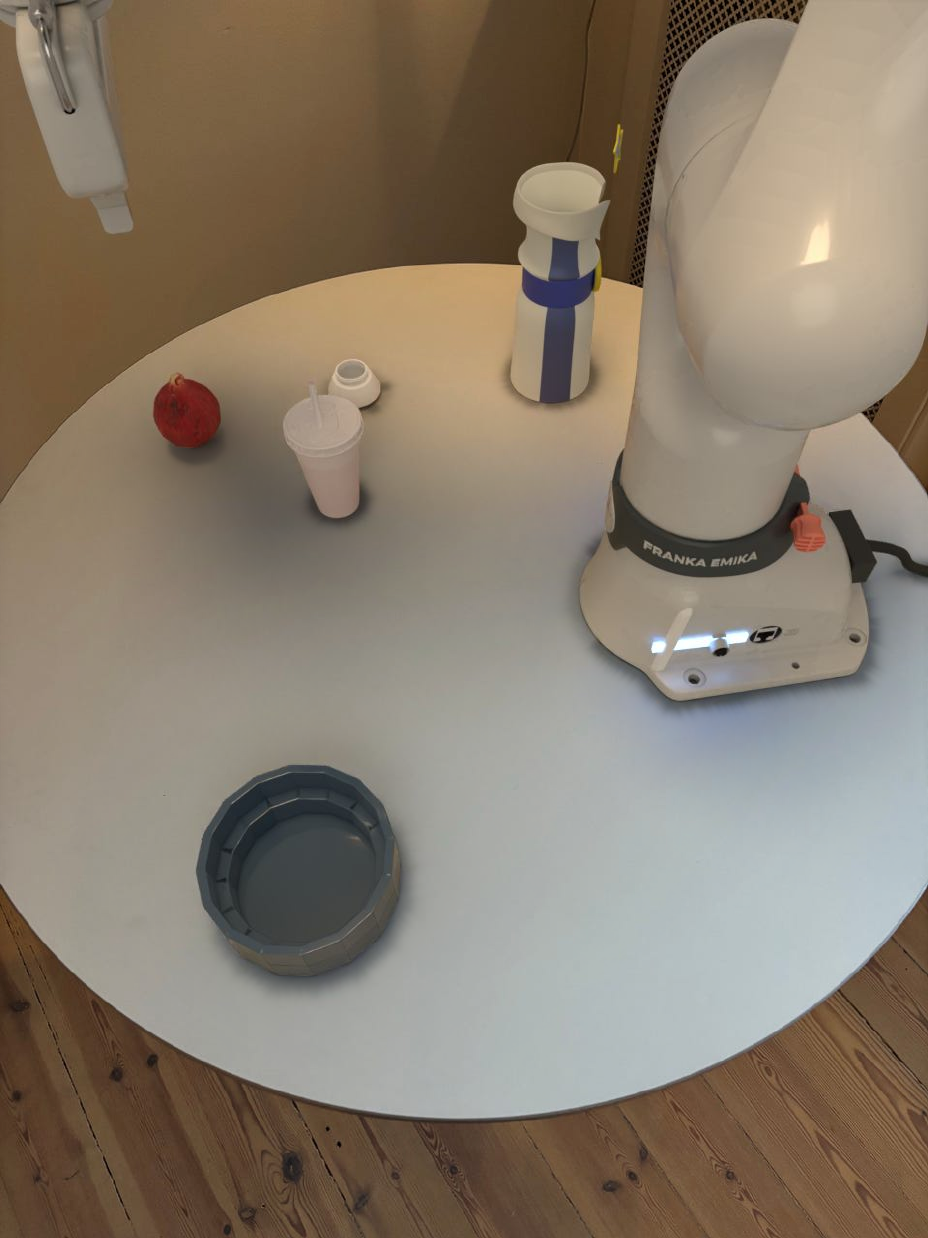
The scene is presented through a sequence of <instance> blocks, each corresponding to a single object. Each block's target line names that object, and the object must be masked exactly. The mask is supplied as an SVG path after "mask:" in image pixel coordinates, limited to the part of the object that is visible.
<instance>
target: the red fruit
mask: <svg viewBox="0 0 928 1238" xmlns="http://www.w3.org/2000/svg"><path fill="white" fill-rule="evenodd" d="M220 406H221V405H220V402H219V400H218V398H217V397H216V395H215V394H214V393H213V392H212V391H211V390H210V389H209V388H208V386H206V385H205V384H203V383H201V382H198V381H197V380H194V379H191V378H185V376H184V375H183V374H182V373H179V372H175V373H173V374H171V375H170V377H169V380H168V381H167V383H164V385H163V386H162V387H161V388H160V389H159V391H158V392H157V393H156V395H155V397H154V399H153V408H152V409H153V410H152V418H153V422H154V424H155V425H156V427H157V429H158V431H159V433H160V434H161V436H162V437H163V438H164V439H166V440H167V441H168V442H170V443H171V444H173V445H174V446H175V447H180V448H187V449H193V448H198V447H199V448H200V447H201V446H203V445H204V444H207V442H209V441H210V440H211V439H212V438H214V436H215V435H216V433H217V431H218V430H219V428H220V424H221V422H222V417H221V416H222V414H221V407H220Z"/></svg>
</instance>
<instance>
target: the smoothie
mask: <svg viewBox="0 0 928 1238" xmlns="http://www.w3.org/2000/svg"><path fill="white" fill-rule="evenodd" d="M307 387H308V391H309V397H306V398H304V399H302V400H300V401H298V402H296V403H295V404H294V405H292V406H291V407H290V408H289V409H288V411H287V412H286V414H285V416H284V418H283V422H282V428H283V433H284V434H283V435H284V439H285V441H286V444H287V445H288V446H289V448H291V450H293V451H294V455H295V457H296V459H297V461H298V464H299V466H300V468H301V471H302V474H303V475H304V477H305V480H306V482H307V484H308V485H307V486H308V488H309V489H310V492H311V494H312V496H313V500H314V501H315V504H316V507H317V508H318V510H319V512H320V513H321V514H322V515H323V516H325V517H328V518H332V519H342V518H345V517H348V516H350V515H352V514H354V512H356V510H357V509H358V507H359V506H360V476H361V475H360V466H361V465H360V462H361V460H360V459H361V458H360V455H361V454H360V453H361V451H360V450H361V449H360V448H361V437H362V436H363V432H364V428H365V427H364V420H363V417H362V413H361V411H360V408H358V407H357V406H356V405H355V404H354V403H353V402H351V401H350V400H348V399H346V398H343V397H340V396H336V395H328V394H318V390H317V386H316V382H315V380H309V381H308V382H307Z"/></svg>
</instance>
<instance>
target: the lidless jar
mask: <svg viewBox="0 0 928 1238" xmlns="http://www.w3.org/2000/svg"><path fill="white" fill-rule="evenodd" d="M380 394H381V381H380V380H379V379H378V377H377V376H376V374H375V373H374V372H373V371H372V370H371V368H370V367H369V366H368V365H367V364H366V363H365V362H364V361H362V360H360V359H357V358H349V359H345V360H343V361H340V362H339V363H338V364H337V365H336V367H335V370H334V372H333V374H332V375H331V377H330V380H329V382H328V384H327V395H336V396H340V397H343V398H346V399H348V400H350V401H351V402H353V403H354V404H355V405H356V406H357V407H358V409H360V408H363V407H367V406H369V405H371V404H372V403H373V402H375V401H376V400H377V399H378V398H379V396H380Z"/></svg>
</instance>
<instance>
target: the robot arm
mask: <svg viewBox="0 0 928 1238" xmlns="http://www.w3.org/2000/svg"><path fill="white" fill-rule="evenodd" d="M114 2H115V1H114V0H0V21H1V22H2V23H4V24H6V25H8V26H9V27H11V28H14V29H15V48H16V53H17V54H16V55H17V58H18V59H17V60H18V63H19V68H20V70H21V74H22V78H23V83H24V86H25V89H26V92H27V96H28V98H29V101H30V104H31V107H32V110H33V113H34V116H35V120H36V121H37V124H38V127H39V131H40V133H41V137H42V140H43V142H44V145H45V147H46V151H47V153H48V157H49V159H50V163H51V165H52V168H53V170H54V173H55V176H56V179H57V181H58V183H59V185H60V187H61V188H62V190H63V191H64V193H65V194H66V195H67V196H68V197H69V198H71V199H75V200H79V199H89V200H90V201H91V203H92V205H93V207H94V208H95V209H96V211H97V214H98V217H99V220H100V222H101V225H102V228H103V230H104V231H105V233H106V234H110V235H116V234H124V233H129V232H131V231H132V230H133V229H134V219H133V213H132V209H131V206H130V203H129V200H128V197H127V194H126V193H127V192H126V191H127V190H128V189H129V188H130V183H131V181H130V173H129V166H128V159H127V152H126V144H125V138H124V131H123V123H122V116H121V109H120V102H119V94H118V88H117V87H118V85H117V81H116V73H115V67H114V60H113V51H112V45H111V37H110V36H111V35H110V34H111V33H110V25H109V20H108V12H109V11H110V9H111V7H113V4H114ZM658 140H659V141H658V145H657V152H656V161H655V168H654V177H653V185H652V194H651V202H650V203H651V204H650V212H649V213H650V214H649V221H648V229H647V230H648V231H647V239H646V240H647V241H646V252H645V260H644V261H645V262H644V263H645V264H644V274H643V284H642V295H641V307H640V308H641V309H640V319H639V332H638V347H637V348H638V349H637V358H636V359H637V362H636V372H635V378H634V379H635V380H634V387H633V392H632V400H631V405H630V411H629V412H630V413H629V416H628V422H627V423H628V424H627V429H626V436H625V442H624V447H623V448H622V450H621V451H620V453H619V455H618V457H617V459H616V462H615V466H614V470H613V475H612V479H611V480H610V481H609V486H608V487H609V488H608V492H607V498H606V507H605V514H604V516H605V517H604V527H605V531H604V533H603V536H602V539H601V541H600V543H599V546H598V548H597V550H596V552H595V553H594V554H593V556H592V557H591V559H590V560H589V561H588V563H587V565H586V566H585V568H584V570H583V573H582V575H581V579H580V583H579V590H578V591H579V594H578V595H579V605H580V609H581V613H582V615H583V617H584V620H585V622H586V624H587V626H588V627H589V629H590V631H591V633H593V635H594V636H595V637H596V639H597V640H598V641H599V642H600V643H601V644H602V645H603V646H604V647H605V648H606V649H608V650H609V651H610V652H611V653H613V654H614V655H615V656H616V657H618V658H620V659H621V660H623V661H625V662H626V663H628V664H630V665H632V666H633V667H636V668H637V669H639V670H640V671H642V672H643V673H644V674H645V675H646V676H647V677H648V678H649V679H650V681H651V682H652V683H653V684H654V686H656V688H657V689H659V691H660V692H661V693H662V694H663V695H665V696H666V697H668V698H669V699H671V700H673V701H677V702H678V701H679V702H682V701H689V700H690V701H691V700H697V699H703V698H709V697H716V696H723V695H729V694H730V695H731V694H736V693H743V692H750V691H755V690H762V689H769V688H775V687H783V686H791V685H795V684H802V683H810V682H815V681H822V680H828V679H835V678H842V677H847V676H850V675H854V674H855V673H857V671H858V670H859V668H860V666H861V665H862V662H863V660H864V658H865V655H866V653H867V650H868V645H869V638H870V620H869V619H870V618H869V611H868V605H867V601H866V597H865V593H864V589H863V587H862V583H866V582H867V581H868V579H869V578H870V575H871V574H872V572H873V571H874V569H875V568H876V566H877V564H878V560H877V558H876V556H875V554H874V553H881V554H886V555H890V556H893V557H895V558H897V559H898V560H899V562H900V563H901V566H902V568H904V569H905V570H907V571H908V572H910V573H912V574H915V575H920V576H924V577H927V578H928V565H926V564H923V563H919V562H916V561H915V560H913V558H912V555H911V554H910V552H909V551H908V550H907V549H906V548H904V547H903V546H900V545H897V544H895V543H891V542H887V541H882V540H874V539H868V538H866V537H865V534H864V532H863V530H862V528H861V526H860V524H859V523H858V521H857V519H856V517H855V514H854V513H853V511H852V509H842V510H834V511H829V512H828V513H827V512H826V510H824V509H823V508H822V507H820V506H819V505H817V504H815V503H813V502H811V501H810V500H811V494H810V490H809V485H808V483H807V481H806V480H805V479H804V478H803V477H802V476H801V473H800V468H799V461H800V458H801V455H802V454H803V451H804V448H805V446H806V444H807V441H808V438H809V436H810V433H811V430H817V429H822V428H825V427H828V426H832V425H835V424H839V423H841V422H843V421H845V420H848V419H850V418H852V417H854V416H856V415H858V414H860V413H862V412H864V411H866V410H867V409H869V408H870V407H872V406H873V405H875V404H876V403H877V402H879V401H881V400H882V399H883V398H884V397H885V396H886V395H888V394H889V393H890V392H891V391H893V390H894V389H895V388H896V387H897V386H898V385H899V383H901V381H902V380H903V379H905V377H906V375H908V373H909V371H911V369H912V368H913V366H914V364H915V363H916V361H917V359H918V357H919V355H920V353H921V350H922V348H923V345H924V341H925V338H926V333H927V328H928V0H807V2H806V5H805V7H804V10H803V12H802V14H801V17H800V19H799V22H798V23H796V22H794V21H790V20H788V19H787V20H786V19H781V18H771V17H769V18H768V17H766V18H756V19H750V20H745V21H743V22H739V23H737V24H734V25H731V26H729V27H727V28H725V29H723V30H722V31H720V32H718V33H717V34H715V35H713V36H712V37H711V38H709V39H708V40H706V42H704V43H703V44H702V45H701V46H700V47H698V49H696V50H695V52H693V54H692V55H691V56H690V57H689V59H687V61H686V62H685V63H684V65H683V66H682V67H681V69H680V71H679V73H678V74H677V76H676V79H675V80H674V82H673V84H672V87H671V89H670V92H669V94H668V98H667V102H666V105H665V109H664V113H663V117H662V121H661V127H660V133H659V139H658ZM851 639H852V640H854V641H852V640H851ZM690 680H694V681H696V682H697V683H692V682H691V681H690Z"/></svg>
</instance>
